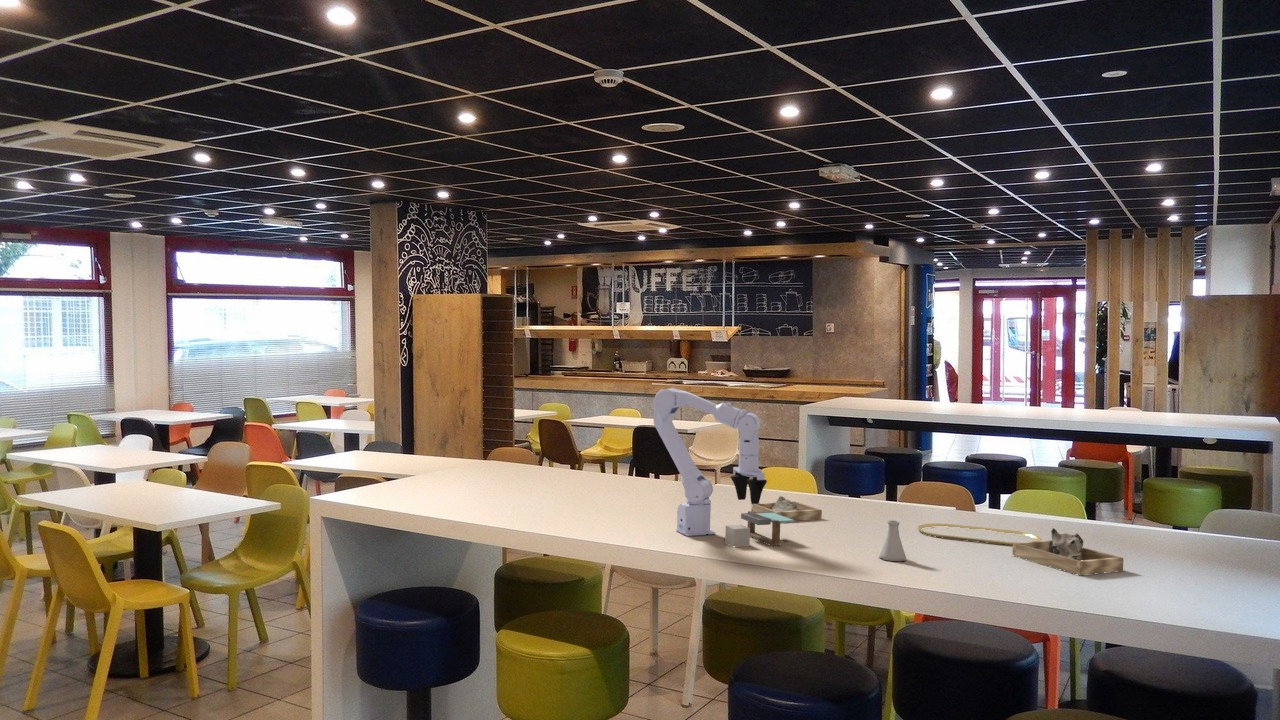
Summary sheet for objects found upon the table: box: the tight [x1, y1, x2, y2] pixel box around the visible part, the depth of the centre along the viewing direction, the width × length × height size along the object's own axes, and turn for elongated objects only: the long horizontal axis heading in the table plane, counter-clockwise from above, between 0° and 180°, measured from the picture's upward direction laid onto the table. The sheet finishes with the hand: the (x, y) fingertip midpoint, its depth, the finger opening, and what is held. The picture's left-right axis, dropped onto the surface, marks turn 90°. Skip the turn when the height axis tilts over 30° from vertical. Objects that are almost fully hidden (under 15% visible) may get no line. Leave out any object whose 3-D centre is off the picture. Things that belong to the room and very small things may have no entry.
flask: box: [878, 519, 907, 562], centre depth 236 cm, size 7×7×10 cm
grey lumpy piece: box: [1049, 528, 1084, 561], centre depth 235 cm, size 16×9×10 cm, turn 160°
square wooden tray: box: [750, 501, 823, 522], centre depth 293 cm, size 17×16×3 cm
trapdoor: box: [740, 512, 795, 526], centre depth 256 cm, size 11×12×2 cm
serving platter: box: [917, 523, 1043, 546], centre depth 267 cm, size 19×35×2 cm, turn 64°
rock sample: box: [771, 495, 798, 512], centre depth 293 cm, size 10×8×9 cm
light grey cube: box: [724, 524, 751, 547], centre depth 249 cm, size 5×5×5 cm
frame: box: [747, 510, 782, 547], centre depth 255 cm, size 3×17×7 cm, turn 22°
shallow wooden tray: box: [1011, 539, 1124, 576], centre depth 235 cm, size 15×22×4 cm
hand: (748, 501), depth 258 cm, fingers open, 7 cm apart
